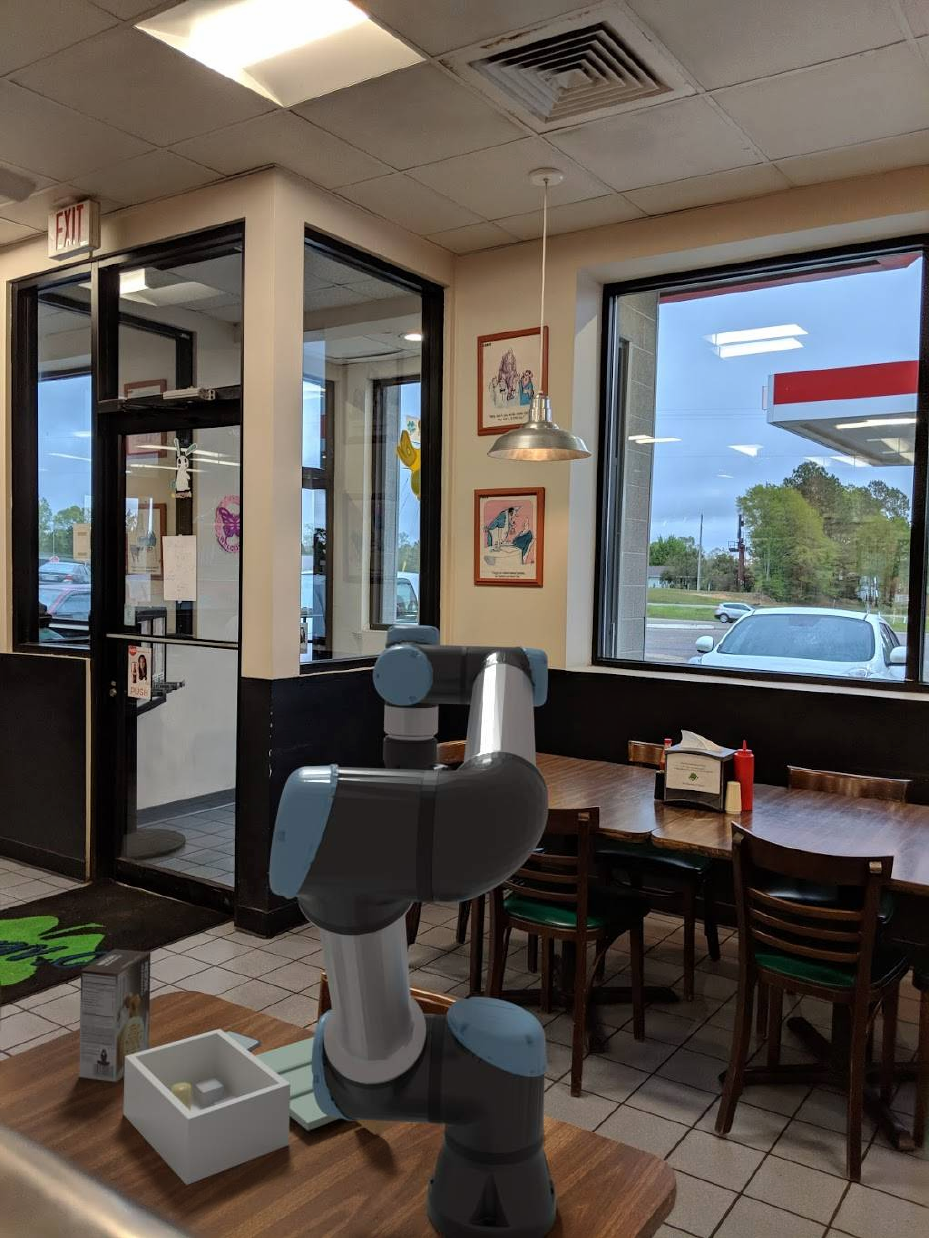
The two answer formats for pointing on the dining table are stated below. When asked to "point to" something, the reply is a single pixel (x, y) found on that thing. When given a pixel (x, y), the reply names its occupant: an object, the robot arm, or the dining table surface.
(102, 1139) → the dining table surface
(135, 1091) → the tub
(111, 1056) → the coffee box
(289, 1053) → the lid
